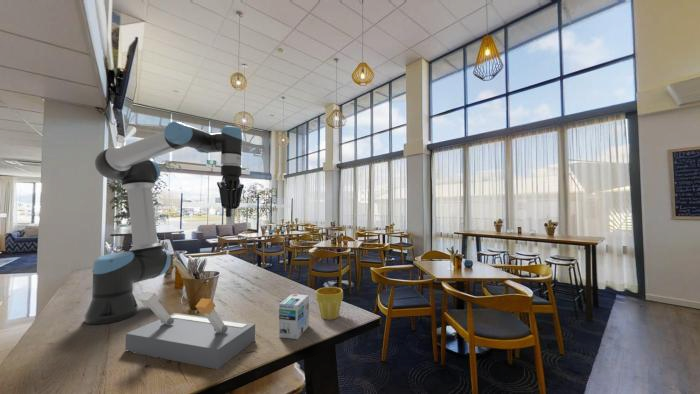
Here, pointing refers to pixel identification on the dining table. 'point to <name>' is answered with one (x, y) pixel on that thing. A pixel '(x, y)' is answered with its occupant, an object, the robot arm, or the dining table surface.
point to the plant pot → (329, 301)
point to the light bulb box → (293, 316)
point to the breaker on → (156, 307)
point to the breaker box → (191, 340)
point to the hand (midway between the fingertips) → (230, 225)
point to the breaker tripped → (211, 314)
